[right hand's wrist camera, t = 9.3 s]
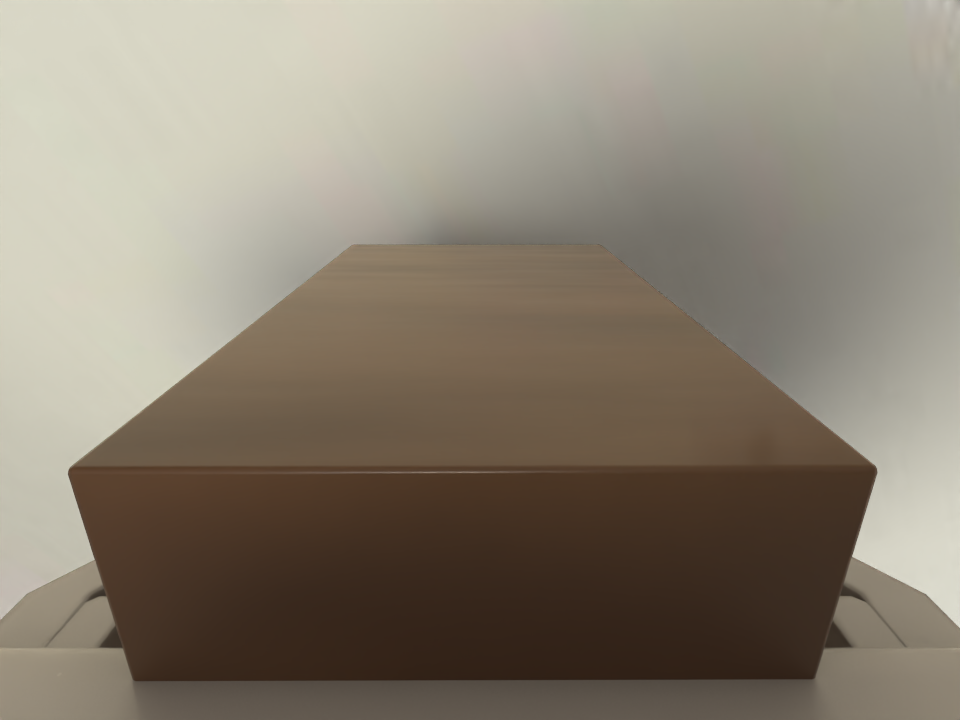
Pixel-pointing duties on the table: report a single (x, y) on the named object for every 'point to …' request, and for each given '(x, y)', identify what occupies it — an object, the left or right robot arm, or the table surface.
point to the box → (473, 487)
